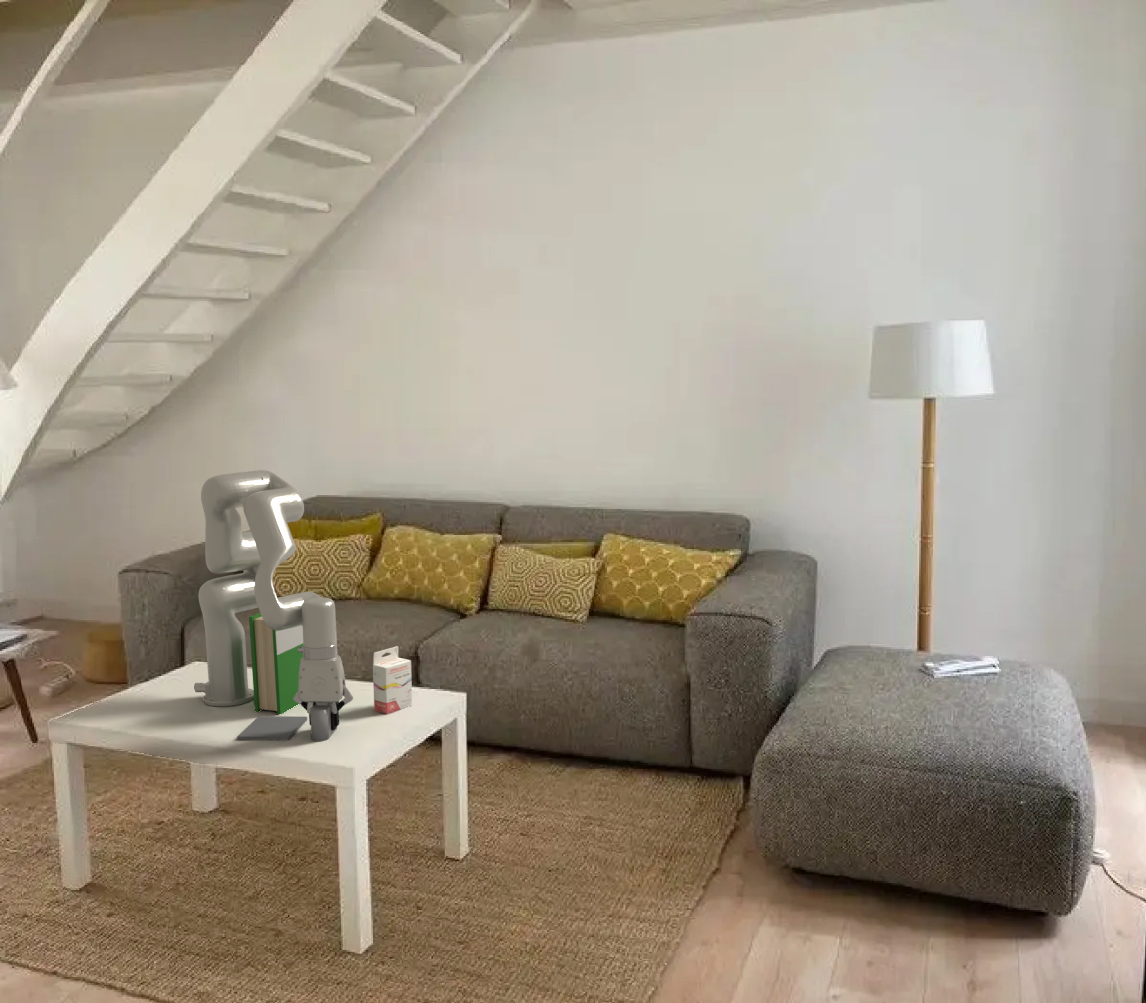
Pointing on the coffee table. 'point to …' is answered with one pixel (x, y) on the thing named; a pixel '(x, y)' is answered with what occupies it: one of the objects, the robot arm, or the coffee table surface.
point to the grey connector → (321, 721)
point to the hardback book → (274, 665)
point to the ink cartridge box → (391, 681)
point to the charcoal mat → (272, 728)
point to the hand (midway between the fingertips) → (324, 727)
